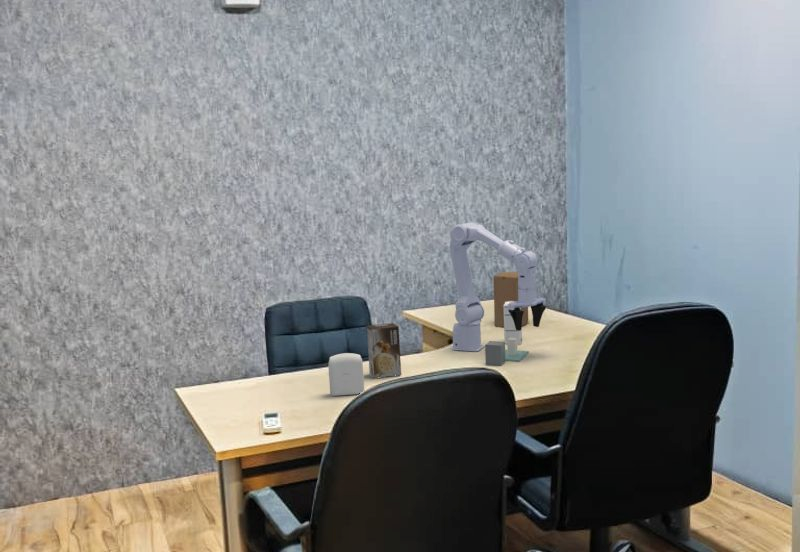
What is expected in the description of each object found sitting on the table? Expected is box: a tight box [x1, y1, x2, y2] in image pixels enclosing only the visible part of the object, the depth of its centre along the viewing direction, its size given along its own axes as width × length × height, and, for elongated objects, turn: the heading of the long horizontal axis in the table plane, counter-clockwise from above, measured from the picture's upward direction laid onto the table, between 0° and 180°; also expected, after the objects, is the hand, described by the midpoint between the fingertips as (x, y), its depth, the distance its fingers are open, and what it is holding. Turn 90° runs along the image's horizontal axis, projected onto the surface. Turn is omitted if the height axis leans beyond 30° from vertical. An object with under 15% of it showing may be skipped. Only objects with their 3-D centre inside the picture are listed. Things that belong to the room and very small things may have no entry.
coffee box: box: [366, 322, 402, 379], centre depth 298 cm, size 9×6×16 cm
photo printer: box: [327, 352, 365, 397], centre depth 280 cm, size 10×4×12 cm, turn 96°
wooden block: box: [493, 271, 529, 328], centre depth 362 cm, size 10×10×20 cm
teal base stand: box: [505, 338, 530, 363], centre depth 316 cm, size 8×12×6 cm, turn 158°
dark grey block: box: [484, 340, 506, 367], centre depth 308 cm, size 5×5×7 cm
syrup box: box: [503, 301, 523, 345], centre depth 335 cm, size 6×6×14 cm
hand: (527, 328), depth 313 cm, fingers open, 7 cm apart
